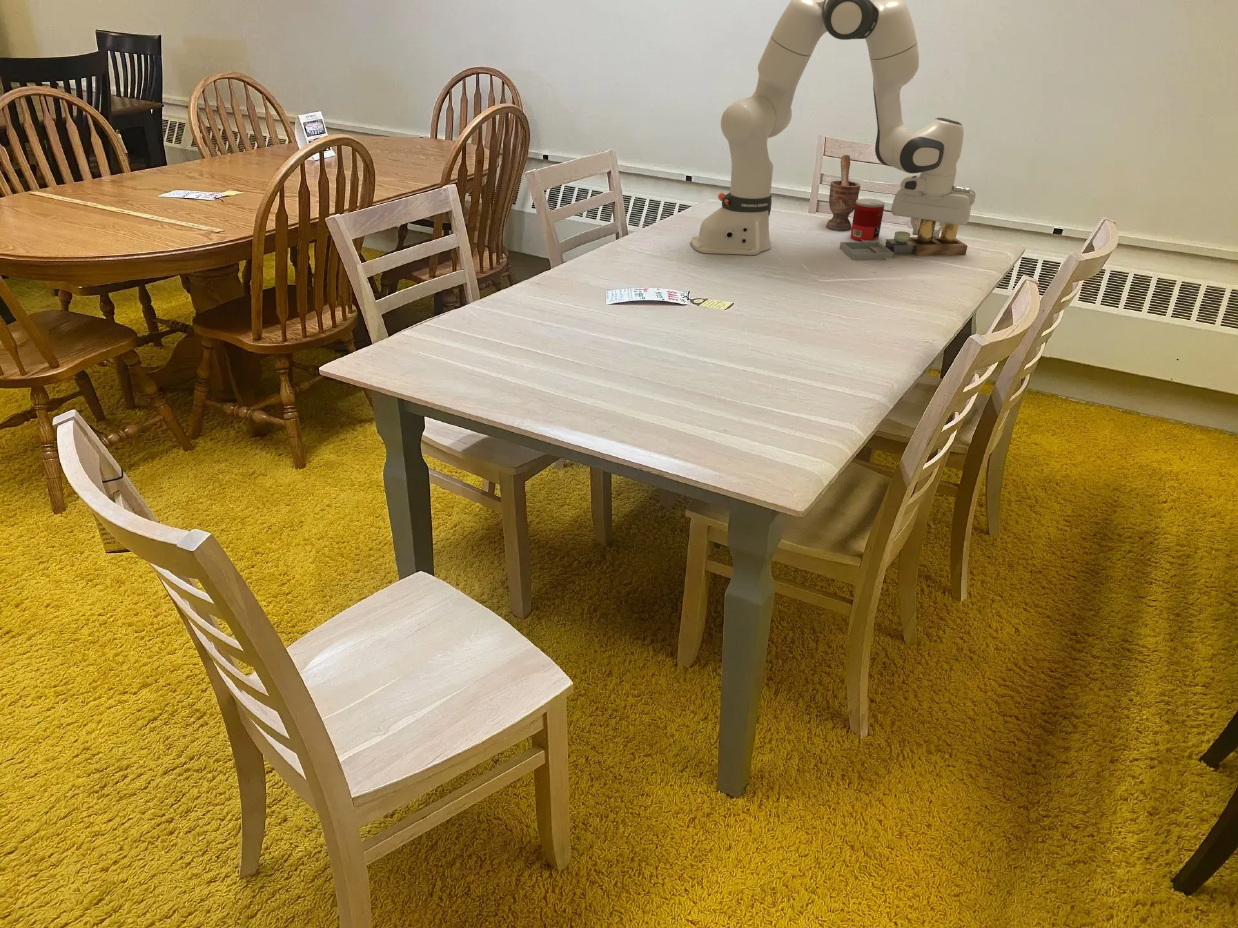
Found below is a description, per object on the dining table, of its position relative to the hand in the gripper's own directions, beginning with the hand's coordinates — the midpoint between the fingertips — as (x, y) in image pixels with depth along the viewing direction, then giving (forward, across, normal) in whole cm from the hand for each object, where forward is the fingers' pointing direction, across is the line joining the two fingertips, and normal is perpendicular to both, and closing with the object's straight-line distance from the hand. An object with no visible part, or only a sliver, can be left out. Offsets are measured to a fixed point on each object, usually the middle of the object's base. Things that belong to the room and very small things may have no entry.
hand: (925, 236), depth 228 cm
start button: (+4, +5, +4) cm, 8 cm away
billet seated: (+4, -6, -4) cm, 8 cm away
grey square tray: (+5, +13, +9) cm, 17 cm away
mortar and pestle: (+5, +28, -16) cm, 33 cm away
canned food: (+5, +17, -6) cm, 19 cm away
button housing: (+5, +5, +4) cm, 8 cm away
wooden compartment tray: (+5, -3, -2) cm, 6 cm away
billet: (+4, 0, 0) cm, 4 cm away
